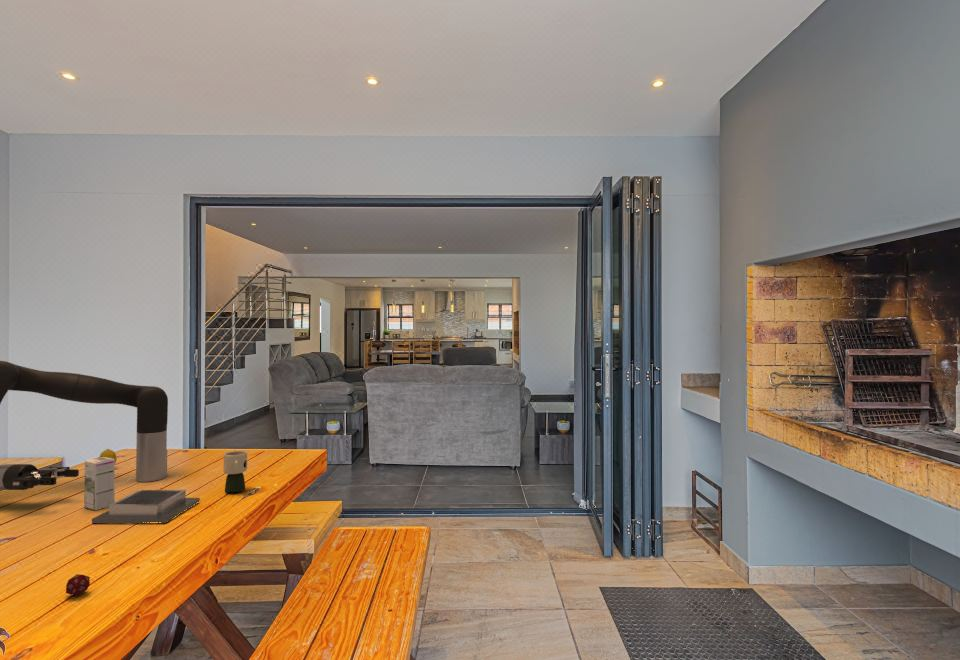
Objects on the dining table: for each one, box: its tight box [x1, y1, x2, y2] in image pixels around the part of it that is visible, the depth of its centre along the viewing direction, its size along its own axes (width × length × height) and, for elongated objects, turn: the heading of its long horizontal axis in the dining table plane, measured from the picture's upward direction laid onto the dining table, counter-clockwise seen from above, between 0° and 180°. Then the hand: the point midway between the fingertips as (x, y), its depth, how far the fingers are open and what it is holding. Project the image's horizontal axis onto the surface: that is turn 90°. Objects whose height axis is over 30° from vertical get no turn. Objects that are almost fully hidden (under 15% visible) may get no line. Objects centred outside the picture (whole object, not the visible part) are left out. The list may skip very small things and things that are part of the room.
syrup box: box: [83, 456, 116, 511], centre depth 153 cm, size 6×6×14 cm
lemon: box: [98, 448, 117, 464], centre depth 194 cm, size 6×6×8 cm
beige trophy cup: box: [223, 450, 248, 493], centre depth 169 cm, size 11×7×13 cm, turn 30°
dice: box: [65, 573, 91, 597], centre depth 102 cm, size 4×4×4 cm
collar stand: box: [91, 489, 201, 524], centre depth 149 cm, size 18×20×4 cm
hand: (67, 477), depth 153 cm, fingers open, 8 cm apart
